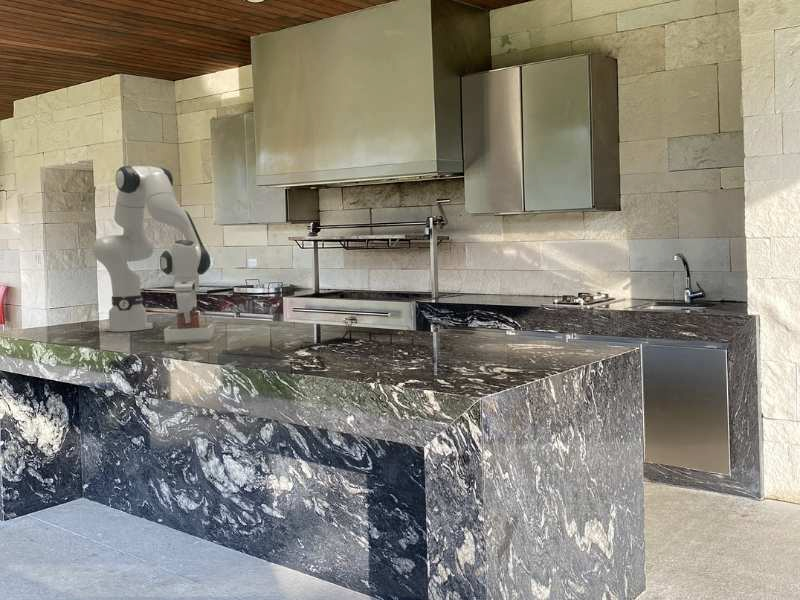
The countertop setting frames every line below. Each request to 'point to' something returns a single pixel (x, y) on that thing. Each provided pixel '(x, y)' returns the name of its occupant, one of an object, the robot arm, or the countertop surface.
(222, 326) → the countertop surface
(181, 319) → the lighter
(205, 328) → the tray
